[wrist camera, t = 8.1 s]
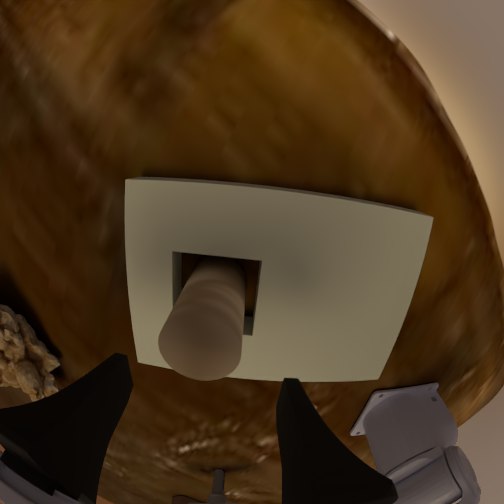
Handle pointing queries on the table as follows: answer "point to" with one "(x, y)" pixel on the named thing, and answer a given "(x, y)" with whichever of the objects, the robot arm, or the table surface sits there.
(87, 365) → the table surface
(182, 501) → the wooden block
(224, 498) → the mechanical component
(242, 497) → the table surface
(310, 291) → the socket board
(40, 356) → the mineral formation
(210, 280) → the birch peg
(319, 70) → the table surface
